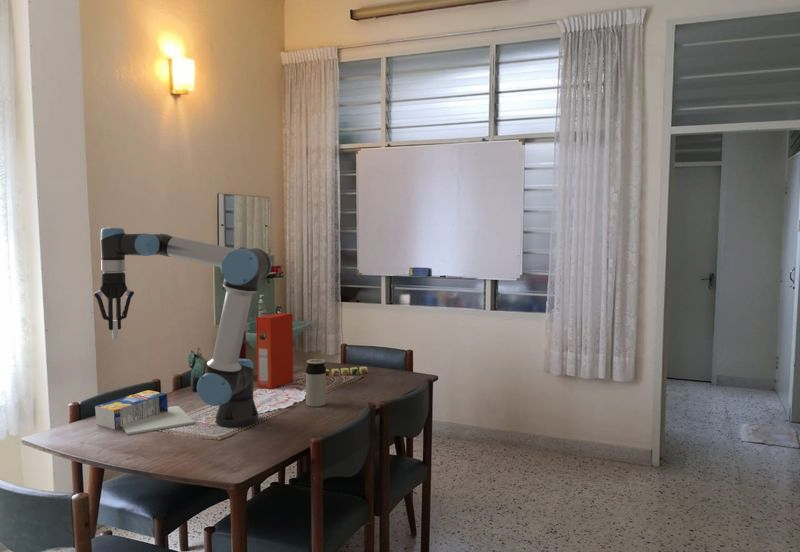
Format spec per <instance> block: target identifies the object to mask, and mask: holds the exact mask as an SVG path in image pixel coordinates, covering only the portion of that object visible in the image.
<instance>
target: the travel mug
mask: <svg viewBox="0 0 800 552" xmlns="http://www.w3.org/2000/svg"><path fill="white" fill-rule="evenodd" d="M306 363H307V365H306V368H305V405H306V406H308V407H312V408H318V407H319V408H320V407H323V406H325V405H326V404H327V402H326V401H327V385H326V384H327V377H326V369H327V367H326V366H325V363H326V359H323V358H322V359H321V358H311V359H307V360H306Z"/></svg>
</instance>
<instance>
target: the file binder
mask: <svg viewBox="0 0 800 552" xmlns="http://www.w3.org/2000/svg"><path fill="white" fill-rule="evenodd" d="M255 320H256V321H255V323H256V324H255V326H256V327H255V329H256V332H255V334H256V336H255V337H256V387H257V388H259V389H264V388H266V389H265V390H273V389H275V388H277V387H280V386H282V385H285V384H288V383H291V382H292V381H294V347H293V346H294V344H293V343H294V341H293V338H294V337H293V336H294V335H293V333H294V332H293V323H294V322H293V313H287V312H286V313H284V312H277V313H272V314H268V315H267V314H266V315H263V316H257V317H256V318H255Z"/></svg>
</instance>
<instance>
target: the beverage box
mask: <svg viewBox="0 0 800 552" xmlns="http://www.w3.org/2000/svg"><path fill="white" fill-rule="evenodd" d="M168 406H169V405H168V394H167V393H163V392H160V391H159V392H158V391H154V390H149V389H147V390H143V391H141V392H138V393H135V394H130V395H127V396H124V397H121V398H118V399H114V400H110V401H108V402H104V403H100V404H97V405H95V406H94V408H95V409H94V410H95V424H96V425H97V426H101V427H104V428H107V429H112V430H118V429H120V428H122V425H124V424H127V423H131V422H134V421H138V420H141V419H144V418H148V417H151V416H155V415H158V414H161V413H165V412H167V411H168Z"/></svg>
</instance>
